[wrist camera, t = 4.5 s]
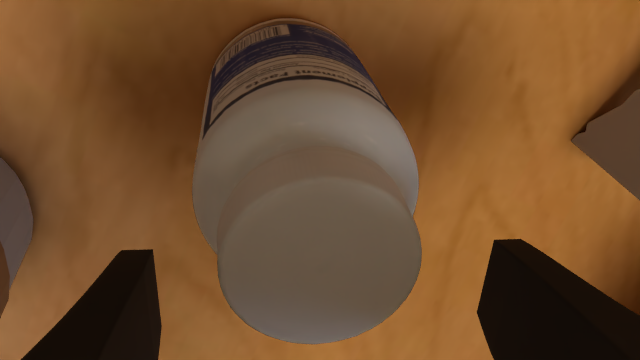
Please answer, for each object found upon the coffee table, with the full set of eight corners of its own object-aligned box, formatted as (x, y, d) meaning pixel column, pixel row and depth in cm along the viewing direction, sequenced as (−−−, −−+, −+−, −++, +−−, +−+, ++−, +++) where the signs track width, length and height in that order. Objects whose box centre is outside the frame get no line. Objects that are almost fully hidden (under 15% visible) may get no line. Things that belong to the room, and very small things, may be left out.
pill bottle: (339, 176, 21) (405, 383, 13) (194, 148, 20) (159, 356, 11) (386, 36, 19) (504, 173, 10) (225, -6, 18) (208, 112, 9)
